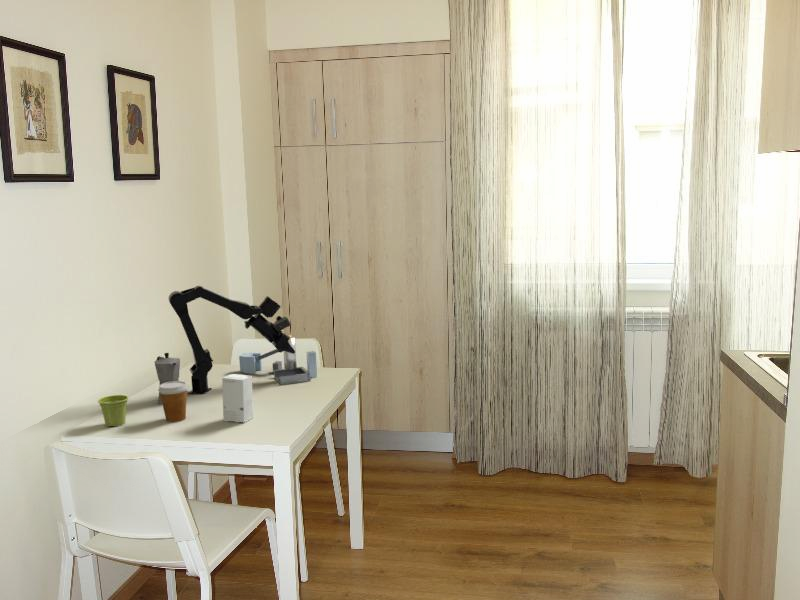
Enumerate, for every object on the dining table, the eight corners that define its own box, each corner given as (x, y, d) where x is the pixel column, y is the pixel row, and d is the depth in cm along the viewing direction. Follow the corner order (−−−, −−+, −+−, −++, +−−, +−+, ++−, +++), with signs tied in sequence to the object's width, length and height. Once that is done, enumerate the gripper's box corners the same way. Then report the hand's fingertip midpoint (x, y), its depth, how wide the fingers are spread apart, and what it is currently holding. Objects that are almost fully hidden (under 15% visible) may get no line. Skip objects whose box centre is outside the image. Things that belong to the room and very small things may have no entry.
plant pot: (121, 417, 248) (118, 393, 247) (136, 422, 242) (133, 397, 241) (95, 425, 241) (92, 400, 240) (110, 430, 235) (107, 404, 234)
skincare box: (223, 421, 240) (219, 377, 238) (233, 416, 246) (230, 373, 243) (245, 423, 237) (242, 379, 235) (255, 417, 243) (252, 374, 240)
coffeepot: (191, 401, 264) (186, 353, 261) (166, 407, 258) (161, 358, 255) (172, 393, 276) (168, 347, 273) (148, 399, 270) (143, 351, 267)
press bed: (281, 385, 282) (279, 359, 280) (274, 377, 293) (272, 353, 292) (320, 379, 288) (318, 354, 286) (312, 372, 299) (310, 348, 298)
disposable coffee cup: (166, 415, 249) (163, 381, 247) (194, 414, 249) (191, 380, 247) (157, 424, 240) (153, 389, 238) (185, 423, 240) (182, 388, 238)
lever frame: (277, 374, 298) (276, 357, 297) (239, 373, 302) (238, 356, 301) (283, 370, 305) (282, 353, 304) (246, 369, 308) (245, 352, 307)
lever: (283, 351, 298) (281, 345, 297) (256, 362, 301) (253, 357, 301) (287, 349, 301) (284, 343, 301) (259, 360, 305) (257, 355, 304)
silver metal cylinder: (298, 368, 288) (296, 336, 286) (286, 370, 286) (284, 337, 284) (295, 365, 292) (293, 334, 290) (283, 367, 290) (281, 335, 288)
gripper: (282, 314, 275) (312, 340, 281) (272, 307, 293) (300, 331, 298) (263, 337, 274) (293, 362, 279) (253, 328, 291) (282, 352, 297)
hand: (293, 351), depth 288 cm, fingers closed on silver metal cylinder, 5 cm apart
